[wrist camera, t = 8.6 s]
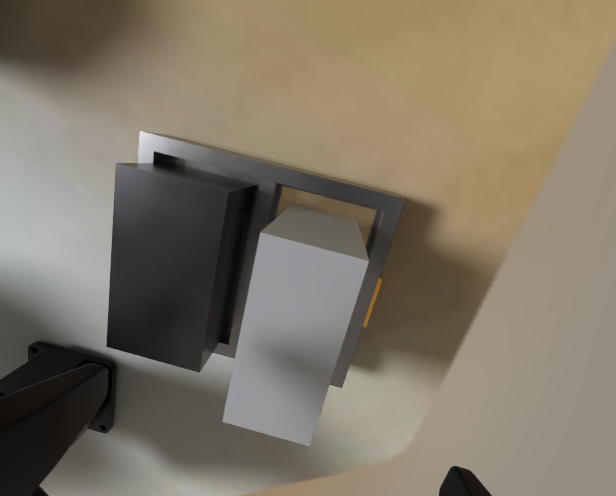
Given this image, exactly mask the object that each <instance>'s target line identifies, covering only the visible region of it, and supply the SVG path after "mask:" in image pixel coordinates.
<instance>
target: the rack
mask: <svg viewBox="0 0 616 496" xmlns="http://www.w3.org/2000/svg"><path fill="white" fill-rule="evenodd" d="M405 200H406V199H405V198H403V197H402V196H400V195H398V194H395V193H391V192H387V191H383V190H380V189H376V188H372V187H368V186H364V185H360V184H356V183H352V182H348V181H344V180H340V179H337V178H333V177H329V176H325V175H321V174H317V173H313V172H309V171H305V170H301V169H297V168H294V167H290V166H286V165H282V164H278V163H274V162H270V161H266V160H262V159H258V158H254V157H251V156H247V155H243V154H239V153H235V152H231V151H227V150H223V149H219V148H215V147H211V146H207V145H204V144H200V143H196V142H192V141H188V140H184V139H180V138H176V137H172V136H168V135H163V134H157V133H150V132H144V131H140V138H139V152H138V163H116V173H115V192H114V212H113V232H112V251H111V271H110V291H109V310H108V330H107V347H110V348H113V349H117V350H121V351H124V352H128V353H131V354H135V355H139V356H142V357H146V358H149V359H153V360H157V361H160V362H164V363H167V364H171V365H175V366H178V367H182V368H185V369H189V370H192V371H196V372H200V371H201V369H202V368H203V366H204V365H205V363H206V362H207V360H208V359H209V357H210V356H211V354H212V353H217V354H220V355H224V356H228V357H231V358H235V355H236V350H237V345H238V340H239V335H240V330H241V325H242V320H243V316H244V311H245V306H246V301H247V296H248V291H249V286H250V281H251V276H252V271H253V266H254V261H255V256H256V251H257V246H258V241H259V236H260V232H261V231H262V230H263V229H265V228H266V227H267V226H268V225H269V224H270V223H271V222H273V221H274V220H275V219H276V218H277V217H278V216H279V215H280V214H282V213H283V212H284V211H285V210H286V209H287V208H288V207H289V206H291V205H292V204H296V205H300V206H304V207H308V208H311V209H315V210H319V211H323V212H327V213H331V214H335V215H338V216H342V217H346V218H350V219H354V220H357V222H358V225H359V229H360V232H361V235H362V239H363V242H364V245H365V249H366V252H367V255H368V259H369V263H368V266H367V269H366V273H365V276H364V279H363V282H362V285H361V288H360V291H359V294H358V297H357V300H356V304H355V307H354V310H353V313H352V316H351V319H350V322H349V325H348V328H347V331H346V335H345V338H344V341H343V344H342V347H341V350H340V353H339V356H338V359H337V363H336V366H335V369H334V372H333V375H332V378H331V381H330V384H329V385H333V386H336V387H340V388H342V386H343V383H344V380H345V377H346V374H347V371H348V368H349V366H350V363H351V360H352V357H353V354H354V351H355V348H356V345H357V342H358V339H359V336H360V333H361V330H362V327H365V328H366V327H367V324H368V321H369V318H370V315H371V312H372V309H373V306H374V303H375V300H376V297H377V294H378V291H379V289H380V286H381V283H382V280H383V279H382V276H381V271H382V268H383V265H384V262H385V259H386V256H387V253H388V250H389V247H390V244H391V241H392V238H393V235H394V232H395V229H396V226H397V224H398V221H399V218H400V215H401V212H402V209H403V206H404V203H405Z"/></svg>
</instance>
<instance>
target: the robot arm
mask: <svg viewBox="0 0 616 496" xmlns="http://www.w3.org/2000/svg"><path fill="white" fill-rule="evenodd" d="M115 385H116V365H115V364H114V363H113V362H111V361H107V360H104V359H100V358H96V357H93V356H89V355H86V354H82V353H79V352H75V351H71V350H68V349H64V348H61V347H57V346H54V345H50V344H46V343H43V342H39V341H37V342H34V343H32V344H31V345H29V346H28V362H27V363H25V364H24V365H22V366H21V367H19V368H17V369H16V370H14V371H13V372H11V373H10V374H8V375H7V376H5V377H3V378H2V379H0V496H49V495H48V494H47V493H46V492H45V491H44V490H43V489H42V488H41V487H40V486H39V485H40V483H41V482H42V481H43V480H44V479H45V478H46V476H47V475H48V474H49V473H50V472H51V471H52V469H53V468H54V467H55V466H56V465H57V463H58V462H59V461H60V459H61V458H62V457H63V456H64V454H65V453H66V452H67V450H68V449H69V448H70V447H71V446H72V445H73V444H74V442H75V441H76V440H77V439H78V438H79V437H80V436H81V435H82V434H83V433H84V432H85V431H86V430H87V429H91V430H95V431H98V432H102V433H107V432H109V430H110V429H111V428H112V427H113V416H114V400H115ZM439 496H492V495H491V494H490V493H489V492H488V491H487V489H486V488H485V487H484V486H483V485H482V483H481V482H480V481H479V480H478V479H477V477H476V476H475V475H474V474H473V473H472V472H471V471H470V470H468V469H465V468H461V467H458V466H453V467H451V468H450V470H449V472H448V474H447V475H446V477H445V479H444V481H443V483H442V485H441V487H440V491H439Z"/></svg>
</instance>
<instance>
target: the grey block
mask: <svg viewBox="0 0 616 496" xmlns="http://www.w3.org/2000/svg"><path fill="white" fill-rule="evenodd" d="M368 263H369V259H368V255H367V252H366V249H365V245H364V242H363V239H362V235H361V232H360V229H359V225H358V222H357V220H354V219H350V218H346V217H342V216H338V215H335V214H331V213H327V212H323V211H319V210H315V209H311V208H308V207H304V206H300V205H296V204H292V205H291V206H289V207H288V208H287V209H286V210H285V211H284V212H283V213H282V214H280V215H279V216H278V217H277V218H276V219H275V220H274V221H273V222H271V223H270V224H269V225H268V226H267V227H266V228H265V229H263V230H262V231H261V232H260V236H259V241H258V246H257V251H256V256H255V261H254V266H253V271H252V276H251V281H250V286H249V291H248V296H247V301H246V306H245V311H244V316H243V320H242V325H241V330H240V335H239V340H238V345H237V350H236V355H235V360H234V365H233V370H232V375H231V380H230V385H229V390H228V395H227V400H226V405H225V410H224V415H223V419H222V422H225V423H228V424H232V425H235V426H239V427H242V428H246V429H250V430H253V431H257V432H260V433H264V434H267V435H271V436H274V437H278V438H281V439H285V440H288V441H292V442H295V443H299V444H303V445H306V446H310V443H311V440H312V437H313V434H314V431H315V428H316V425H317V421H318V418H319V415H320V412H321V409H322V406H323V403H324V400H325V397H326V394H327V390H328V387H329V384H330V381H331V378H332V375H333V372H334V369H335V366H336V363H337V359H338V356H339V353H340V350H341V347H342V344H343V341H344V338H345V335H346V331H347V328H348V325H349V322H350V319H351V316H352V313H353V310H354V307H355V304H356V300H357V297H358V294H359V291H360V288H361V285H362V282H363V279H364V276H365V273H366V269H367V266H368Z"/></svg>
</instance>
